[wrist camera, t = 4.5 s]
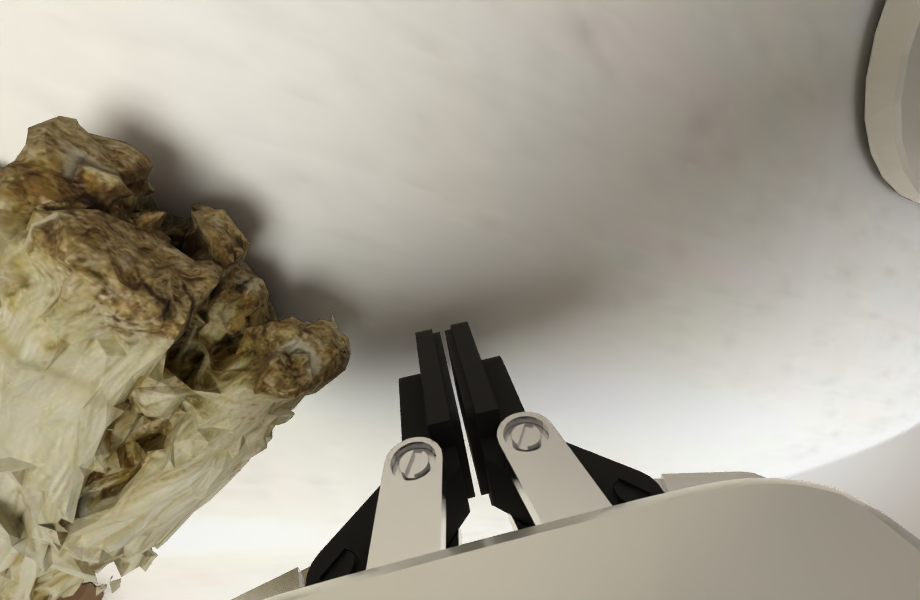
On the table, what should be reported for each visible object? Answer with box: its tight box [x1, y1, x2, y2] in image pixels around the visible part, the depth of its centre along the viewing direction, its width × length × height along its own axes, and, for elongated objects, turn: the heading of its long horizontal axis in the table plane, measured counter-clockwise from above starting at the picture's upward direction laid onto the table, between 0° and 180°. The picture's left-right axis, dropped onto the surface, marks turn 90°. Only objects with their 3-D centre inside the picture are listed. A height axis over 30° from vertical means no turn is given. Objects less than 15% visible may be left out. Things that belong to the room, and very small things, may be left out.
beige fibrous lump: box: [0, 116, 351, 600], centre depth 10 cm, size 14×10×5 cm, turn 134°
